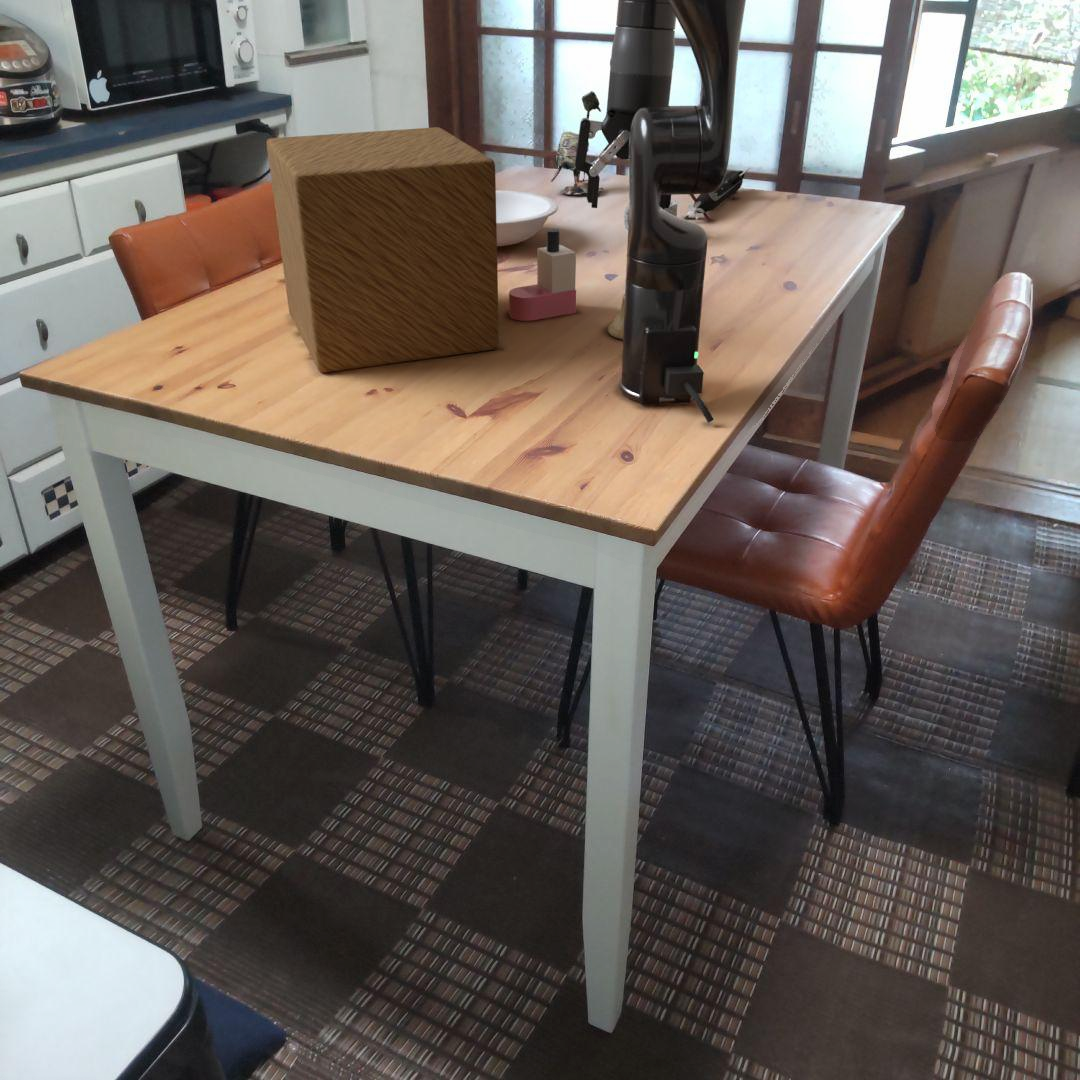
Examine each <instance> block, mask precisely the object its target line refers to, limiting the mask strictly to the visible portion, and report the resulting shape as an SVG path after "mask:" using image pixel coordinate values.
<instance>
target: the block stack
mask: <svg viewBox="0 0 1080 1080" xmlns="http://www.w3.org/2000/svg"><path fill="white" fill-rule="evenodd" d="M536 250H537V252H536V253H537V255H536V257H537V260H536V261H537V262H536V263H537V265H536V266H537V273H536V274H537V276H536V277H537V280H536V281H537V283H536V284H532V285H531V284H529V285H525V286H519V287H514V288H512V289H510V290H509V291H508V303H509V304H508V306H509V307H508V314H509V317H510V319H513V320H516V321H520V322H522V321H523V322H530V321H531V322H532V321H538V320H544V319H549V318H554V317H560V316H566V315H571V314H576V313H577V289H576V274H577V273H576V271H577V252H576V251H574V250H572V249H570V248H568V247H566V246H564V245H562V244H560V230H559V229H558V228H548V229H547V230H546V246H544V247H538V248H537V249H536Z"/></svg>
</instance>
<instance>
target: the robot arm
mask: <svg viewBox="0 0 1080 1080" xmlns="http://www.w3.org/2000/svg"><path fill="white" fill-rule="evenodd" d="M746 3H747V0H618V1H617V12H616V22H615V23H616V24H615V31H614V35H613V36H614V38H613V41H612V46H611V55H610V60H609V76H608V77H609V79H608V89H607V100H606V101H607V102H606V112H605V117H604V119H603V120H602V121H599V120H593V119H590V118H589V119H588V118H587V117H582V118H581V120H580V124H579V130H578V134H579V137H578V145H577V152H576V160H575V167H576V169H577V170H580V171H581V172H582V173H583V174H584V173H585V175H586V176H587V180H588V187H587V193H586V200H587V203H588V204H591V208H592V209H597V208H598V204H599V193H600V192H599V188H600V179H601V178H600V173H601V172H602V171H603V169H605V167H606V166H607V165H608V164H609V163H610V162H611V161H612V160H613V159H614V157H615V156H616V157H617V158H618V159H620V160H628V175H629V176H628V185H629V186H628V193H629V194H628V198H629V199H628V204H629V222H628V230H627V249H626V269H625V287H624V294H625V308H624V330H623V340H622V354H621V355H622V356H621V378H620V382H619V383H620V384H619V385H620V386H619V389H620V390H619V391H620V392H621V393H622V395H624V396H625V397H626V398H628V399H631V400H633V401H635V402H638V403H639V404H640V405H641V406H645V407H646V406H659V405H660V406H661V405H678V404H680V405H681V404H690V403H691V402H692V400H693V402H695V404H696V405H697V407H698V408H699V410H700V412H701V413H702V415H703V417H704V418H705V420H706V422H707V423H708V424H709V423H710V422H713V421H715V418H714V417H713V415H712V413H711V412H710V410H709V408H708V407H707V405H706V404H705V402H704V400H703V399H702V398H701V397H700V394H703V384H704V375H705V373H704V371H703V369H702V367H701V366H700V364H698V357H699V342H700V332H701V331H700V330H701V320H702V319H701V318H702V309H703V308H702V306H703V294H704V284H705V283H704V282H705V273H706V264H707V263H706V262H707V252H708V241H709V240H708V238H709V237H708V234H707V232H706V230H705V229H704V228H703V227H702V226H700V225H698V224H697V223H695V222H692V221H690V220H686V219H685V218H681V217H678V216H677V217H676V216H674V215H672V214H670V213H668V212H667V211H665V208H669V206H670V203H671V199H672V196H673V195H675V196H676V195H690V194H694V195H700V194H707V193H713V192H715V191H717V190H718V189H719V188H720V186H721V185H722V183H723V180H724V178H725V175H726V173H727V171H728V166H729V161H730V154H731V146H732V145H731V144H732V134H733V120H734V109H735V108H734V107H735V97H736V96H735V95H736V84H737V83H736V82H737V70H738V58H739V49H740V43H741V35H742V29H743V22H744V16H745V9H746ZM677 21H678V23H679V25H680V27H681V29H682V31H683V33H684V35H685V38H686V40H687V41H688V44H689V46H690V48H691V52H692V54H693V56H694V57H693V58H694V60H695V62H696V65H697V68H698V72H699V75H700V76H699V77H700V84H701V95H700V96H701V98H700V102H699V104H697V105H670V99H671V89H672V79H673V72H674V71H673V70H674V61H675V52H676V47H675V41H676V39H675V36H676V35H675V34H676V32H675V30H676V24H677ZM598 131H599V132H600V131H601V133H602V135H603V136H604V138H605V140H606V142H607V144H606V146H605V147H604V148H603V150H602V151H600V153H599V155H598V156H597V157H596V158H595V159H594V160H593V162H589V161H587V157H586V154H587V155H588V152H587V147H588V141H589V140H592V139H594V138H595V137H596V134H597V132H598ZM588 148H589V147H588Z"/></svg>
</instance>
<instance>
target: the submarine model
mask: <svg viewBox="0 0 1080 1080" xmlns="http://www.w3.org/2000/svg"><path fill="white" fill-rule="evenodd" d="M750 169H751V168H750V167H749V168H747V169H745V171H742V170H739V171H736V170H731V171H729V172H726V175H725V178H724V180H723V183H722V185H721V186H720V188H719V189H718V190H717V191H715V192H713V193H707V194H698V196H697V197H696V196H695V194H689V196H690V198H691V199H692V201H693V202H694V203H692V202H691V201H690V202H689V203H688V208H689V210H690V211H689V210H688V211H687V213H686V214H687V215H686V216H685V217H684V220H686V219H687V218H689V217H691V216H693V215H694V218H695V220H698V219H699V216H700V215H699V214H702V215H703V216H704V218H705V219H706V220H707V222H710V221H712V219H711V218H710V216H709V214H708V212H710V211H713V210H714V209H716V208H718V207H719V206H720V205H722V204H723V203H724V202H725V201H727V200H728V199H729V198H730V197H733V198H734V199H737V196H736V193H737V192H738V191H739V190H740V188H741V187H742V186H743V183H744V178H745V173H748V171H749V170H750Z"/></svg>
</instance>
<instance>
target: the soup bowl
mask: <svg viewBox="0 0 1080 1080" xmlns="http://www.w3.org/2000/svg"><path fill="white" fill-rule="evenodd" d="M558 208H559V206H558V203H557V202H556V201H555V200H554V199H552V198H550V197H547V196H544V195H541V194H537V193H533V192H528V191H519V190H508V189H507V190H504V189H496V226H497V247H505V246H511V245H516V244H519V243H522V242H524V241H527V240H529V239H531V238H532V237H534V236H535V235H536V234H537V233H538V232H539V231H540V230H541V229H542V228H543V226H544V225H545V224H546V222H547V220H548V219H549V217H551V216H553V215H555V213H557V212H558V210H559V209H558Z"/></svg>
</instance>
